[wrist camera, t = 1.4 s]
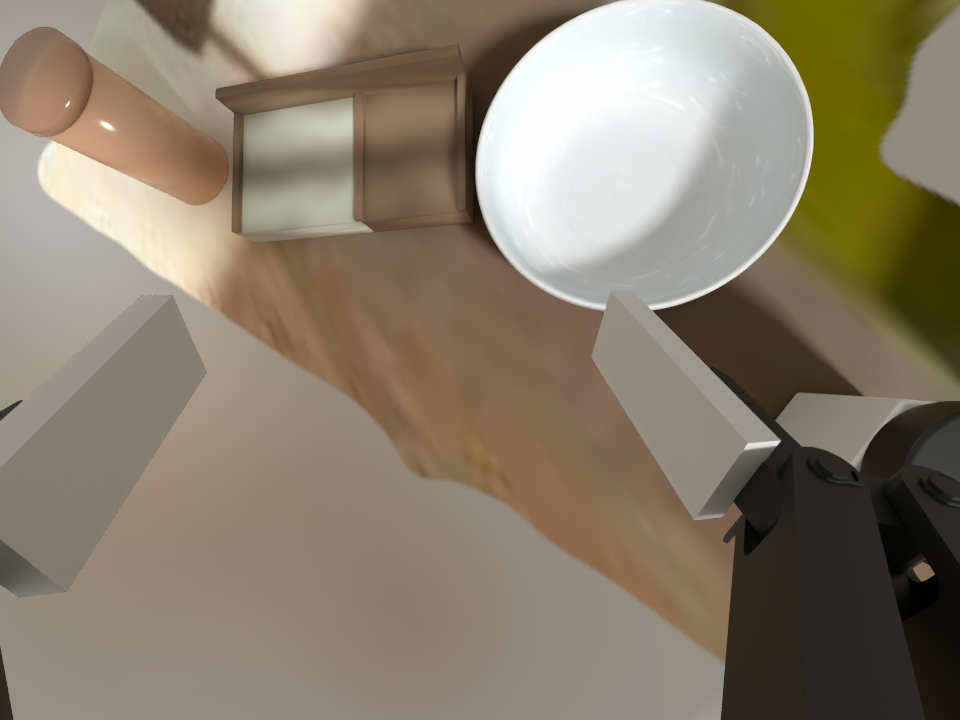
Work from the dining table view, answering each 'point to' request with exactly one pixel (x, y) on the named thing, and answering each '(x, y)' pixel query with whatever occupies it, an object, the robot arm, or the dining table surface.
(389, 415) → the dining table surface
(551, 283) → the serving bowl
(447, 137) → the divided tray
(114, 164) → the canister
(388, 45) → the dining table surface
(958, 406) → the jar
